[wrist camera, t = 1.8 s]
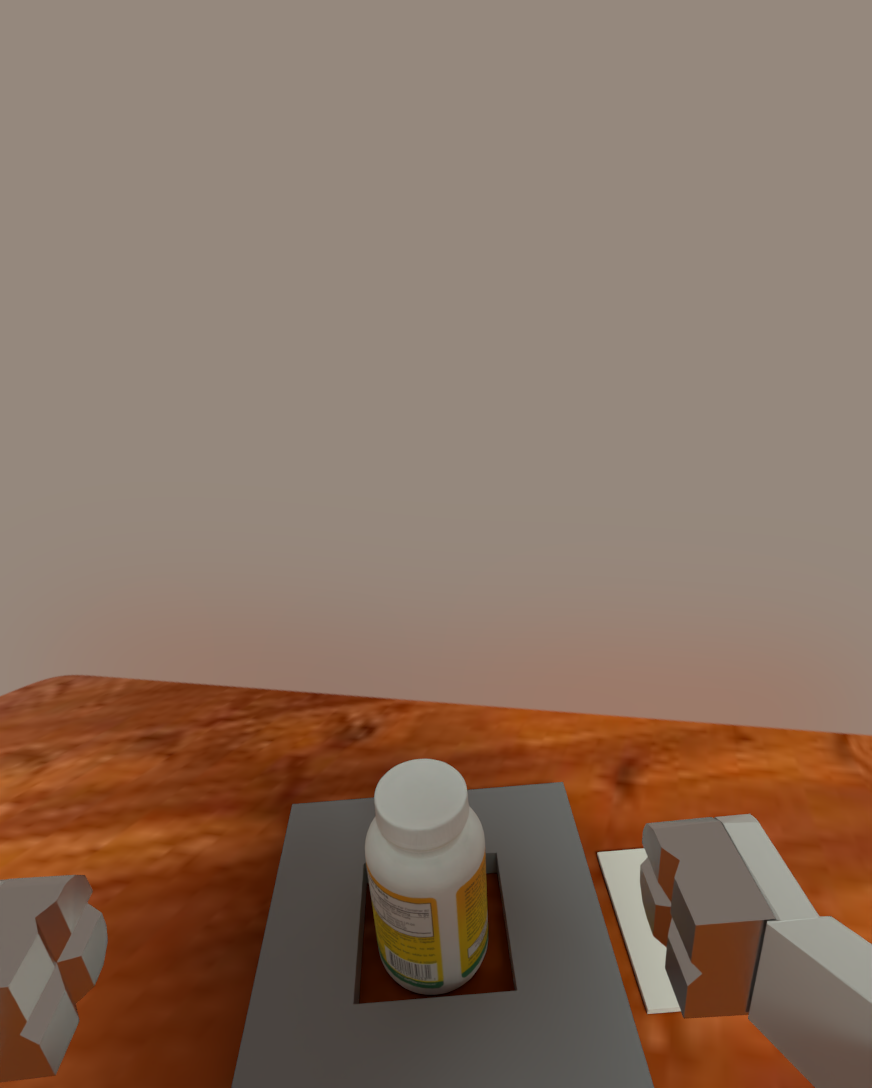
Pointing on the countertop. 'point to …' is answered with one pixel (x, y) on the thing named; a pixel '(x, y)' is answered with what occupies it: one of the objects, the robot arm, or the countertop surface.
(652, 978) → the mat
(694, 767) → the countertop surface
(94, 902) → the countertop surface
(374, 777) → the countertop surface
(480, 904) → the supplement bottle
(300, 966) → the housing plate
